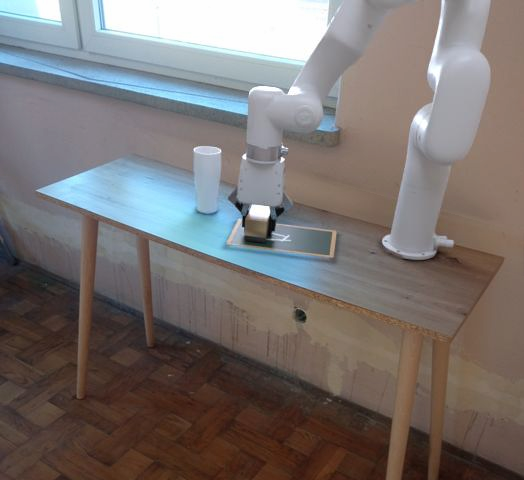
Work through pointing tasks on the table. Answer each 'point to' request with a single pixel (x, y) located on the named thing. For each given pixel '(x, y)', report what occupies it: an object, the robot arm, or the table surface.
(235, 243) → the slate
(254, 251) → the table surface
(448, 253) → the table surface
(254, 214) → the eraser
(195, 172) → the drinking glass
